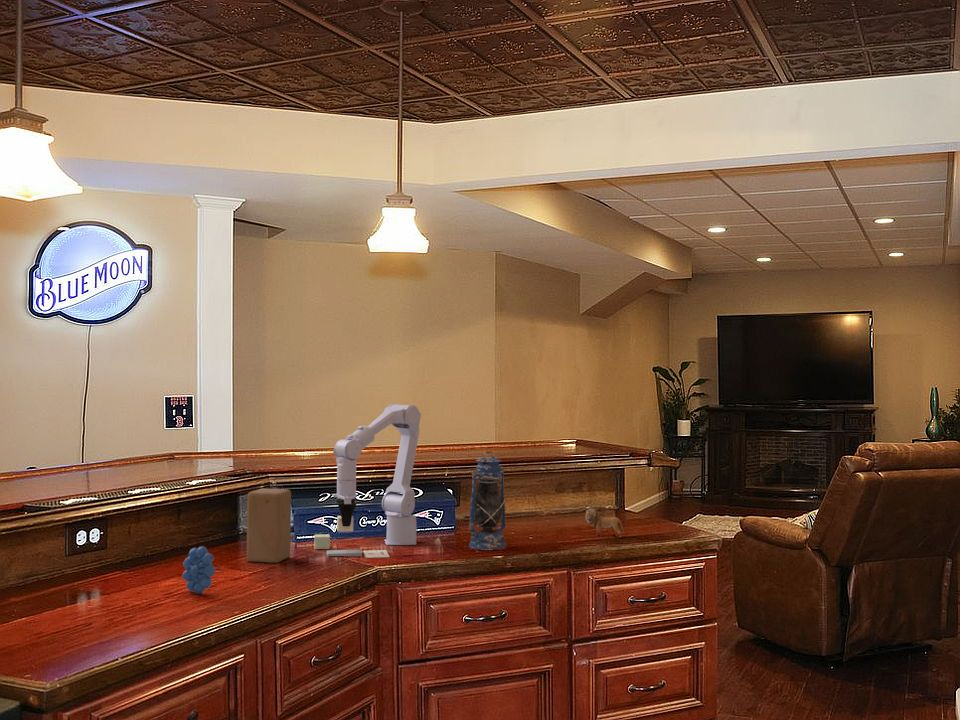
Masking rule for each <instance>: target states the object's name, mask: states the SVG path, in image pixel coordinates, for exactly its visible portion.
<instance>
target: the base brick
mask: <svg viewBox="0 0 960 720" xmlns="http://www.w3.org/2000/svg"><path fill="white" fill-rule="evenodd" d="M326 556H327V557H328V556H344V557H345V556H346V557H347V556H348V557H362V556H363V551H362V550H361V549H335V550H334V549H332V550H326ZM344 557H343V558H344ZM346 557H345V558H346Z"/></svg>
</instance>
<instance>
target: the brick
mask: <svg viewBox="0 0 960 720" xmlns="http://www.w3.org/2000/svg"><path fill="white" fill-rule="evenodd" d="M336 519H337V520H336V526H337V527H336V530H337V532H339V533H340V532H343V533H344V532H354V516H353V515H352V519H351V524H350V526H343V525H342V519H341V516H340V515H337V517H336Z"/></svg>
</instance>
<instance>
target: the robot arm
mask: <svg viewBox="0 0 960 720" xmlns="http://www.w3.org/2000/svg"><path fill="white" fill-rule="evenodd" d="M383 410H384V411H383V412H382V413H381V414H380V415H379V416H378V417H377V418H375V419H374V420H373V421H372V422H371V423H370V424H369V425H358V426H357V429H356V430H354V432H352V433H351V434H348V435H347V436H346V438H345V439H339V440H338V441H337V442H336V443H335V445H334V447H333V449H332V451H333V454H334V457H335V462H336V493H333V494H332V497H333V498H337V499H336V500H335V501H336V504H337V506H338V510H339V516H341V519H342V525H343V526H350V524H351V519H352V516H353V514H354V511H355V509H356V507H357V503H355V502H356V498H357V495H358V494H357V459H359V457H360V455H361V454H362V451H363V450H364V449H365V448H366V447H367V446H369V445H371V443H373V441H374V440H375V437H376V435H377V434H379V433H380V432H381V431H383V430H385V429H386V428H387V427H389V426H390V425H392V426H393V427H394V428H395V429H396V430H398V432H399V434H400V435H401V437H400V442H399V447H398V452H397V457H396V464H395V468H394V469H395V470H394V475H393V480H392V483H391V484H390V485H389V486H387V488H386V489H385V493H384V495H383V497H382V500H381V508H382V510H383V511H384V515H386V538H385V539H383V541H385V542H384V543H385V544H386V546H410V545H411V546H414V545H415V546H416V545H417V544H418V543H417V535H418V533H417V516H416V515H414V514H413V512H414V510H415V507H416V502H415V501H416V500H415V495H416V493H415V491H414V490H413V489H412V488H411V482H412V481H411V480H412V475H413V470H414V469H413V468H414V464H415V459H416V453H417V448H418V443H419V442H418V441H419V435H420V424H421V423H420V422H421V417H422V413H421V412H420V410H419V408H418V407H417V406H416V405H414V404H399V403H398V404H397V403H391V404H389V405H388V406H386V407H385V408H384V409H383Z"/></svg>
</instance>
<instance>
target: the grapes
mask: <svg viewBox="0 0 960 720" xmlns="http://www.w3.org/2000/svg"><path fill="white" fill-rule="evenodd" d="M213 561H214V556H213V554H212V553H210V552H208V549H207V547H205V546H204V545H202V546H199V547H193V548H191V549H190V550H189V552H188V556H187V557H186V558H185V559H184V560H183V562H182V563H183V564H182V565H183V567H184V568H185V570H184V571H183V573H182V579H183V580H184V581H186V582H187V583H186V588H187V590H188V591H190V592H194V593H195V594H197V595H200V594H201V595H202V593H203V592H204V591H205V589H209V588H210V587H211V586H212V583H213V580H212V578H211V577H213V576H214V575H215V573H216V567H215V566H214V565H213V564H212V563H213Z"/></svg>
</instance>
